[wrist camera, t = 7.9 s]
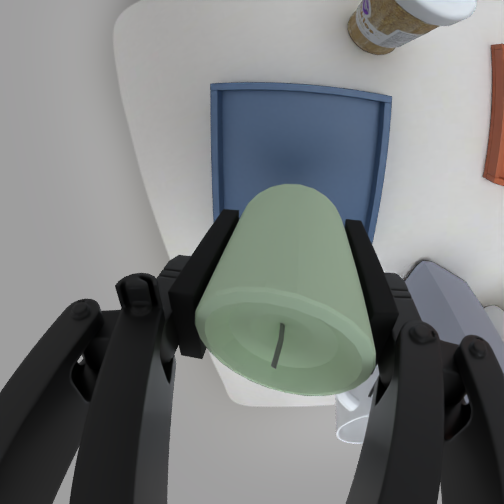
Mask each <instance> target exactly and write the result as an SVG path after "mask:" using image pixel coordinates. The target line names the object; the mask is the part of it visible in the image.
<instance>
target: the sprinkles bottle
mask: <svg viewBox="0 0 504 504" xmlns="http://www.w3.org/2000/svg"><path fill="white" fill-rule="evenodd" d="M476 5H477V0H362V2H361V3H360V5H359V6H358V8H357V11H356V12H355V13H354V14H353V15H352V16H351V17H350V20H349V22H348V31H349V34H350V36H351V38H352V39H353V41H354V42H355V43H356V45H358V46H359V47H360V48H361V49H363V50H365V51H367V52H369V53H372V54H376V55H380V54H387V53H390V52H391V51H393V50H394V49H395V48H396V47H399V46H402V45H404V44H406V43H408V42H410V41H412V40H414V39H416V38H418V37H420V36H422V35H424V34H426V33H428V32H430V31H431V30H433V29H435V28H437V27H439V26H449V25H452V24H455V23H457V22H460V21H462V20H464V19H467V18H468V17H470V16H471V15H472V14H473V12H474V11H475V9H476Z"/></svg>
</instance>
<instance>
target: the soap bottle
mask: <svg viewBox="0 0 504 504" xmlns="http://www.w3.org/2000/svg"><path fill="white" fill-rule="evenodd" d="M405 283H406V285H407V288H408V292H410V294H411V296H412V299H413V301H414V303H415V306H416V308H417V310H418V313H419V315H420V317H421V320H422V321H423V322H426V323H428V324H429V325H431V326H432V327H433V328H434V329H435V330H436V331H437V332H438V335H439V338H440V340H443V341H446V342H450V343H454V344H457V345H459V344H460V342H461V341H462V339H463V338H464V337H465V336H467V335H477V336H479V337H481V338H483V339H484V340H486V341H487V342H488V343H489V345H490V346H491V348H492V350H493V352H494V354H495V356H496V358H497V360H498V362H499V364H500V367H501V369H502V371H503V373H504V342H503V341H502V339H501V337H500V335H499V333H498V332H497V330H496V328H495V327H494V325H493V323H492V321H491V320H490V318H489V316H488V315H487V313H486V312H485V310H484V308H483V307H482V305H481V304H480V302H479V301H478V299H477V298H476V296H475V294H474V293H473V291H472V290H471V289H470V287H469V286H468V284H467V283H466V282H465V281H463V280H462V279H460V278H458V277H457V276H455V275H454V274H452V273H450V272H448V271H447V270H445V269H443V268H442V267H440V266H438V265H437V264H435V263H433V262H430V261H422V262H421V263H420V264H419V265H417V266H416V267H415V268H414V270H413V271H412V273H411V274H410V276H409V277H408V278H407V280H406V281H405ZM464 399H465V401H466V403H468V402H469V400H468V397H467V394H466V395H465V397H464Z"/></svg>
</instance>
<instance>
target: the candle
mask: <svg viewBox="0 0 504 504" xmlns="http://www.w3.org/2000/svg"><path fill="white" fill-rule="evenodd" d="M195 325H196V328H197V331H198V334H199V336H200V339H201V340H202V341H203V343H204V344H205V346H206V347H207V349H208V350H209V351H210V352H211V353H212V354H213V355H214V356H215V357H216V358H217V359H218V360H219V361H220V362H221V363H223V364H224V365H225V366H227V367H228V368H230V369H231V370H232V371H234V372H235V373H237V374H239V375H241V376H243V377H245V378H246V379H248V380H250V381H252V382H255V383H257V384H260V385H262V386H265V387H267V388H271V389H274V390H278V391H281V392H285V393H291V394H297V395H304V396H327V395H334V394H340V393H343V392H346V391H349V390H352V389H354V388H356V387H358V386H359V385H360V384H362V383H363V382H365V381H366V380H367V379H368V378H369V377H370V375H371V373H372V372H373V370H374V368H375V364H376V351H375V346H374V341H373V336H372V331H371V327H370V322H369V318H368V313H367V309H366V305H365V301H364V296H363V292H362V288H361V285H360V281H359V277H358V273H357V270H356V266H355V262H354V259H353V255H352V252H351V248H350V245H349V241H348V238H347V235H346V232H345V228H344V225H343V222H342V219H341V217H340V215H339V213H338V211H337V209H336V207H335V205H334V204H333V203H332V202H331V201H330V200H329V199H328V198H327V197H326V196H325V195H323V194H322V193H320V192H318V191H317V190H315V189H313V188H310V187H307V186H303V185H300V184H282V185H278V186H273V187H270V188H268V189H266V190H264V191H262V192H261V193H259V194H257V195H256V196H255V197H254V198H253V199H252V200H251V201H250V202H249V203H248V205H247V206H246V208H245V210H244V212H243V213H242V215H241V217H240V219H239V221H238V223H237V225H236V227H235V229H234V232H233V234H232V236H231V238H230V240H229V242H228V244H227V246H226V248H225V250H224V252H223V254H222V256H221V258H220V260H219V262H218V264H217V266H216V269H215V271H214V273H213V275H212V277H211V279H210V281H209V283H208V285H207V287H206V289H205V292H204V294H203V296H202V298H201V300H200V302H199V304H198V306H197V309H196V311H195Z"/></svg>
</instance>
